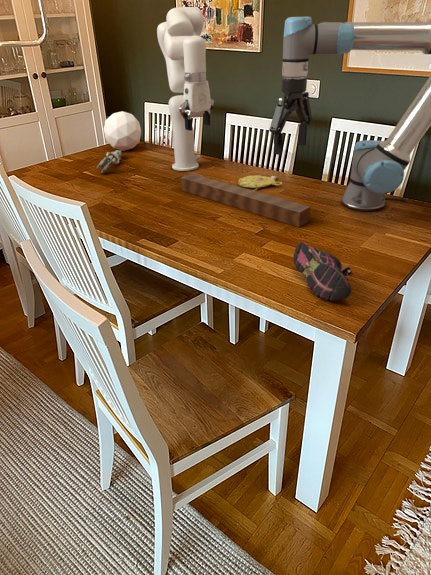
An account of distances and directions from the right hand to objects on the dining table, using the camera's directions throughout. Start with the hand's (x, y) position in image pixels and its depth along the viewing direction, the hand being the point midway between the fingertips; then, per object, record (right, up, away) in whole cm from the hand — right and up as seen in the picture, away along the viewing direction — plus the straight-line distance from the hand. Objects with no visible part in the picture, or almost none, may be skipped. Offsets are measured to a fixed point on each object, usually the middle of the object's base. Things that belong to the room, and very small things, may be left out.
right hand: (290, 149), depth 143 cm
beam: (-15, -13, +25) cm, 32 cm away
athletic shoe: (+6, -44, -23) cm, 50 cm away
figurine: (-75, +15, +72) cm, 105 cm away
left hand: (-31, +16, +23) cm, 42 cm away
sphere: (-73, +30, +95) cm, 124 cm away
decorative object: (-6, -1, +43) cm, 44 cm away
